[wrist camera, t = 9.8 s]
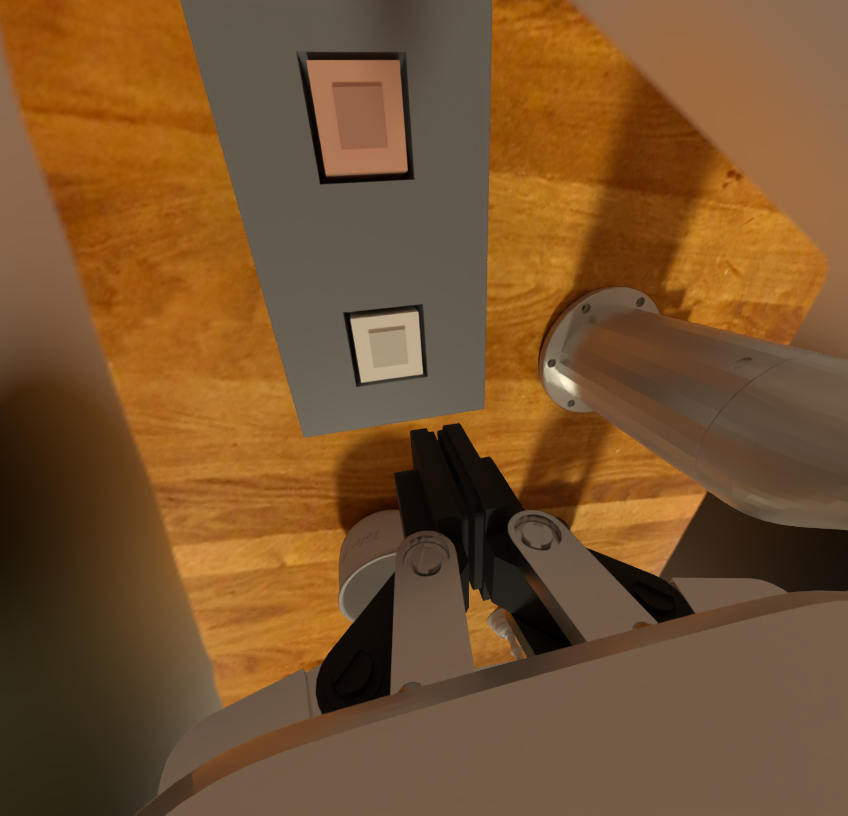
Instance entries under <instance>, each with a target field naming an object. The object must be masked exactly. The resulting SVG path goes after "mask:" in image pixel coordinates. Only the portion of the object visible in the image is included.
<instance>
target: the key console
mask: <svg viewBox="0 0 848 816" xmlns="http://www.w3.org/2000/svg"><path fill="white" fill-rule="evenodd" d="M180 1H181V5H182V8H183V12H184V15H185V19H186V22H187V26H188V30H189V33H190V37H191V40H192V44H193V47H194V51H195V54H196V58H197V61H198V65H199V69H200V72H201V76H202V79H203V83H204V86H205V90H206V93H207V97H208V100H209V104H210V107H211V111H212V115H213V118H214V122H215V125H216V129H217V132H218V136H219V139H220V143H221V146H222V150H223V154H224V157H225V161H226V164H227V168H228V171H229V175H230V178H231V182H232V185H233V189H234V192H235V196H236V200H237V203H238V207H239V210H240V214H241V217H242V221H243V224H244V228H245V231H246V235H247V238H248V242H249V246H250V249H251V253H252V256H253V260H254V263H255V267H256V270H257V274H258V277H259V281H260V285H261V288H262V292H263V295H264V299H265V302H266V306H267V309H268V313H269V316H270V320H271V323H272V327H273V331H274V334H275V338H276V341H277V345H278V348H279V352H280V355H281V359H282V362H283V366H284V369H285V373H286V377H287V380H288V384H289V387H290V391H291V394H292V398H293V401H294V405H295V408H296V412H297V416H298V419H299V423H300V426H301V430H302V433H303V437H304V438H305V437H311V436H318V435H324V434H330V433H336V432H343V431H349V430H355V429H361V428H368V427H374V426H380V425H386V424H393V423H399V422H405V421H411V420H418V419H424V418H430V417H436V416H443V415H449V414H455V413H461V412H468V411H474V410H480V409H484V402H485V350H486V298H487V246H488V194H489V142H490V90H491V38H492V0H180ZM306 60H400V74H401V87H402V100H403V114H404V127H405V141H406V154H407V167H408V171H407V172H406V173H405V174H404V175H403V176H402V178H401V179H391V180H372V181H353V182H334V183H329V182H328V179H327V176H326V173H325V167H324V161H323V155H322V149H321V144H320V138H319V132H318V126H317V120H316V114H315V108H314V103H313V97H312V91H311V85H310V79H309V73H308V67H307V61H306ZM408 305H412V306H413V307H414V308H415V309H416V310H417V311H418V314H419V328H420V341H421V355H422V368H423V374H420V375H413V376H406V377H398V378H391V379H384V380H377V381H370V382H363V383H361V378H360V372H359V367H358V361H357V355H356V349H355V343H354V337H353V331H352V326H351V320H350V312H353V311H362V310H372V309H381V308H390V307H399V306H408Z"/></svg>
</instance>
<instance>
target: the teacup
mask: <svg viewBox="0 0 848 816" xmlns="http://www.w3.org/2000/svg"><path fill="white" fill-rule="evenodd" d="M403 540H404V535H403V529H402V524H401V518H400V512H399V510H384V511H379V512H376V513H373V514H371V515H369V516H367V517H365V518H363V519H362V520H360V521H359V522H358V523H357V524H355V525H354V526H353V527H352V528H351V530H350V531H349V532H348V534H347V535H346V537H345V539H344V541H343V543H342V546H341V550H340V558H339V590H340V591H339V595H338V603H339V608H340V610H341V612H342V614H343V615H344V616H345V617H346V618H347V619H348V620H350V621H352V622H353V623H354V621H355V620H356V619H357V618H358V616H359V615H360V614H361V613H362V611H363V610H364V609H365V608H366V606H367V605H368V604H369V603H370V601H371V600H372V599H373V598H374V596H375V595H376V594H377V593H378V592H379V590H380V589H381V588H382V587H383V585H384V584H385V583H386V582H387V580H388V579H389V578H390V577H391V575H392V574H393V573H394V572H395V561H396V553H397V549H398V547H399V546H400V544H401V542H402V541H403Z"/></svg>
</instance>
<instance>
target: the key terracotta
mask: <svg viewBox="0 0 848 816" xmlns="http://www.w3.org/2000/svg"><path fill="white" fill-rule="evenodd" d="M306 61H307V67H308V73H309V79H310V85H311V91H312V97H313V103H314V108H315V114H316V120H317V126H318V132H319V138H320V144H321V149H322V155H323V161H324V167H325V173H326V176H327V179H328V182H329V183H334V182H353V181H372V180H391V179H401V178H402V176H403V175H404V174H405V173H406V172H407V171H408V167H407V154H406V141H405V127H404V114H403V100H402V87H401V74H400V60H306Z"/></svg>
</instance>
